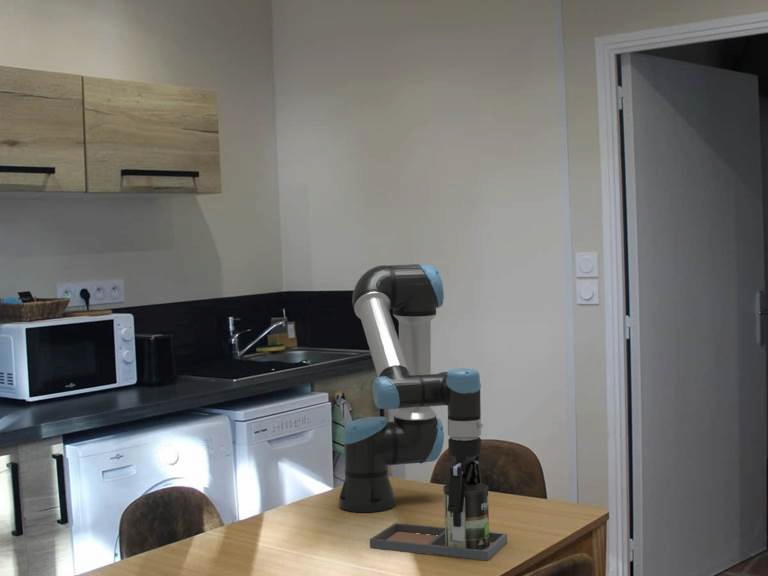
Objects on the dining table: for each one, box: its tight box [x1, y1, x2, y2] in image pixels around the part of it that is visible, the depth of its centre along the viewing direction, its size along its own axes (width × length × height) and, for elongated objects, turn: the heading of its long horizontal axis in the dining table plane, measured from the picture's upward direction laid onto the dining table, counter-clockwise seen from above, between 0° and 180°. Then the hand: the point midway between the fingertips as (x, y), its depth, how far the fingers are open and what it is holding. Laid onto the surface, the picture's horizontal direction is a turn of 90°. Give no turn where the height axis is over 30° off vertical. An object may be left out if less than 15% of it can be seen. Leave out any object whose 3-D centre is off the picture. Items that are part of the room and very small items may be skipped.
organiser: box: [369, 522, 508, 562], centre depth 227 cm, size 15×28×2 cm, turn 66°
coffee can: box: [443, 482, 491, 550], centre depth 224 cm, size 10×10×14 cm
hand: (466, 533), depth 224 cm, fingers closed on coffee can, 10 cm apart
